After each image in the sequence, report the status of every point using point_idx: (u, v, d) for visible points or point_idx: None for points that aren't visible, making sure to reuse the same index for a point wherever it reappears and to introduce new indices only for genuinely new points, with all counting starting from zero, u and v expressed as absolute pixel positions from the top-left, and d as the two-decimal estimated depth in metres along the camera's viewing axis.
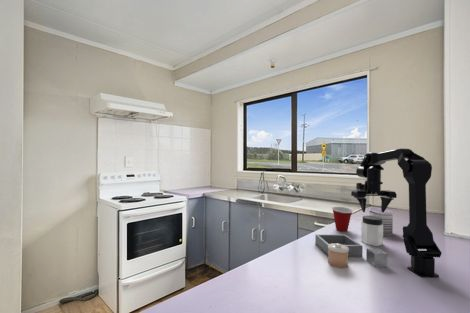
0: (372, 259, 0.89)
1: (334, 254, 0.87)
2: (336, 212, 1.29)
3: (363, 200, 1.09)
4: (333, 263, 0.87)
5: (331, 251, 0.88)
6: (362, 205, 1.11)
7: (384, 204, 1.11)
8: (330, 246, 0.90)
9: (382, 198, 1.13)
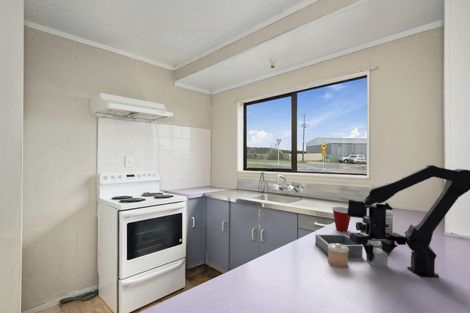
0: (372, 259, 0.89)
1: (334, 254, 0.87)
2: (336, 212, 1.29)
3: (369, 248, 0.87)
4: (333, 263, 0.87)
5: (331, 251, 0.88)
6: (368, 253, 0.89)
7: (385, 251, 0.89)
8: (330, 246, 0.90)
9: (383, 243, 0.91)
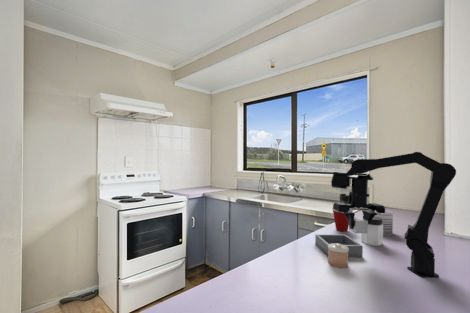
0: (353, 226, 0.94)
1: (334, 254, 0.87)
2: (336, 212, 1.29)
3: (351, 215, 0.93)
4: (333, 263, 0.87)
5: (331, 251, 0.88)
6: (350, 221, 0.94)
7: None
8: (330, 246, 0.90)
9: (364, 212, 0.97)
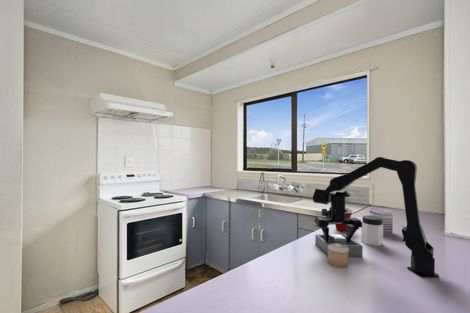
0: (332, 243, 1.01)
1: (334, 254, 0.87)
2: None
3: (325, 230, 1.00)
4: (333, 263, 0.87)
5: (331, 251, 0.88)
6: (325, 235, 1.02)
7: (349, 233, 1.02)
8: (330, 246, 0.90)
9: (348, 226, 1.04)
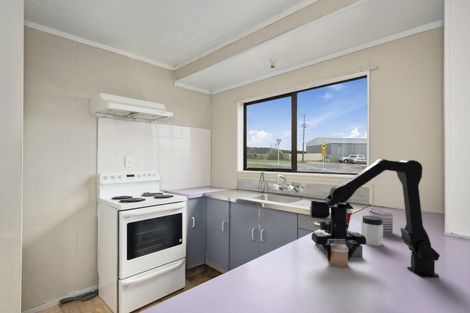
0: None
1: (334, 254, 0.87)
2: None
3: (327, 247, 0.87)
4: (333, 263, 0.87)
5: (331, 251, 0.88)
6: (326, 253, 0.88)
7: (349, 251, 0.89)
8: None
9: (347, 243, 0.91)
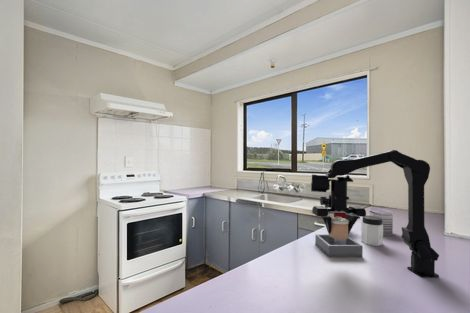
0: (332, 243, 1.01)
1: (335, 226, 0.89)
2: None
3: (328, 219, 0.88)
4: (334, 235, 0.89)
5: (332, 223, 0.90)
6: (327, 225, 0.90)
7: (349, 224, 0.90)
8: None
9: (347, 216, 0.92)
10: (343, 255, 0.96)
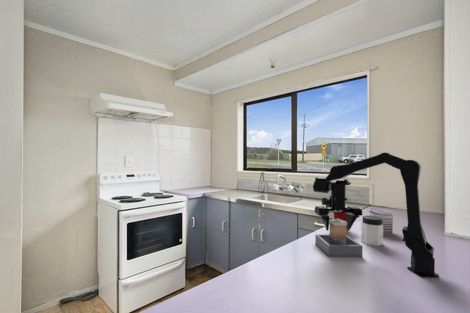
0: (332, 243, 1.01)
1: (334, 227, 1.00)
2: None
3: (326, 218, 1.00)
4: (333, 235, 1.01)
5: (332, 225, 1.01)
6: (325, 223, 1.02)
7: (349, 222, 1.02)
8: (331, 221, 1.03)
9: (348, 215, 1.04)
10: (343, 255, 0.96)
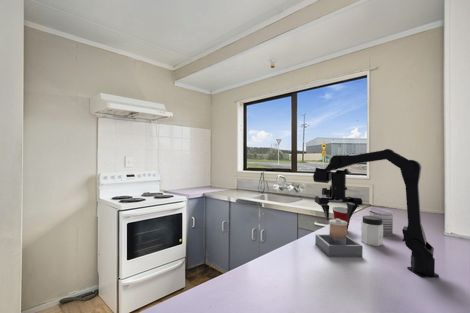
0: (332, 243, 1.01)
1: (334, 227, 1.00)
2: (336, 212, 1.29)
3: (326, 207, 1.00)
4: (333, 235, 1.01)
5: (332, 225, 1.01)
6: (325, 212, 1.02)
7: (349, 211, 1.02)
8: (331, 221, 1.03)
9: (348, 205, 1.04)
10: (343, 255, 0.96)
